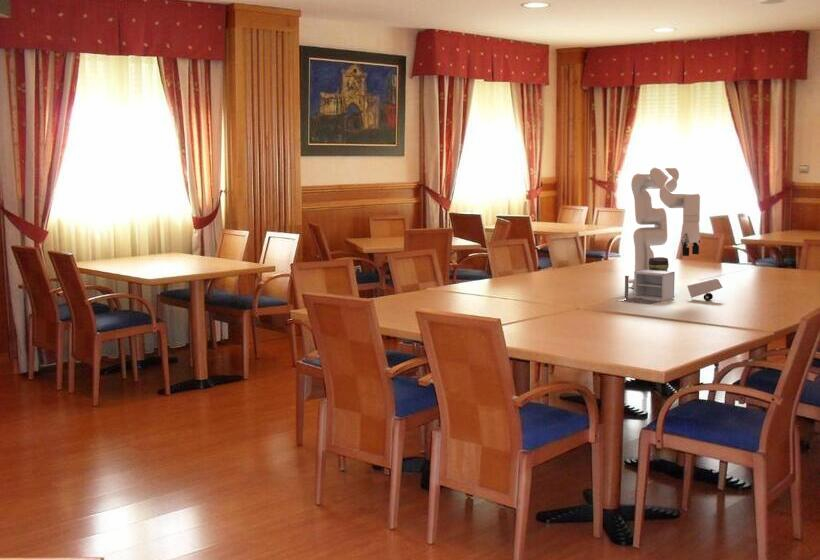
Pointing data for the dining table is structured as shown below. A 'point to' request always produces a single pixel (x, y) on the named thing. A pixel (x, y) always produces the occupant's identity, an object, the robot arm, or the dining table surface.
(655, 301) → the grey l-shaped piece
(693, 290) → the grey plank with wheel
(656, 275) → the cabinet
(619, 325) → the dining table surface
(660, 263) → the coffee jar
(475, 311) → the dining table surface
